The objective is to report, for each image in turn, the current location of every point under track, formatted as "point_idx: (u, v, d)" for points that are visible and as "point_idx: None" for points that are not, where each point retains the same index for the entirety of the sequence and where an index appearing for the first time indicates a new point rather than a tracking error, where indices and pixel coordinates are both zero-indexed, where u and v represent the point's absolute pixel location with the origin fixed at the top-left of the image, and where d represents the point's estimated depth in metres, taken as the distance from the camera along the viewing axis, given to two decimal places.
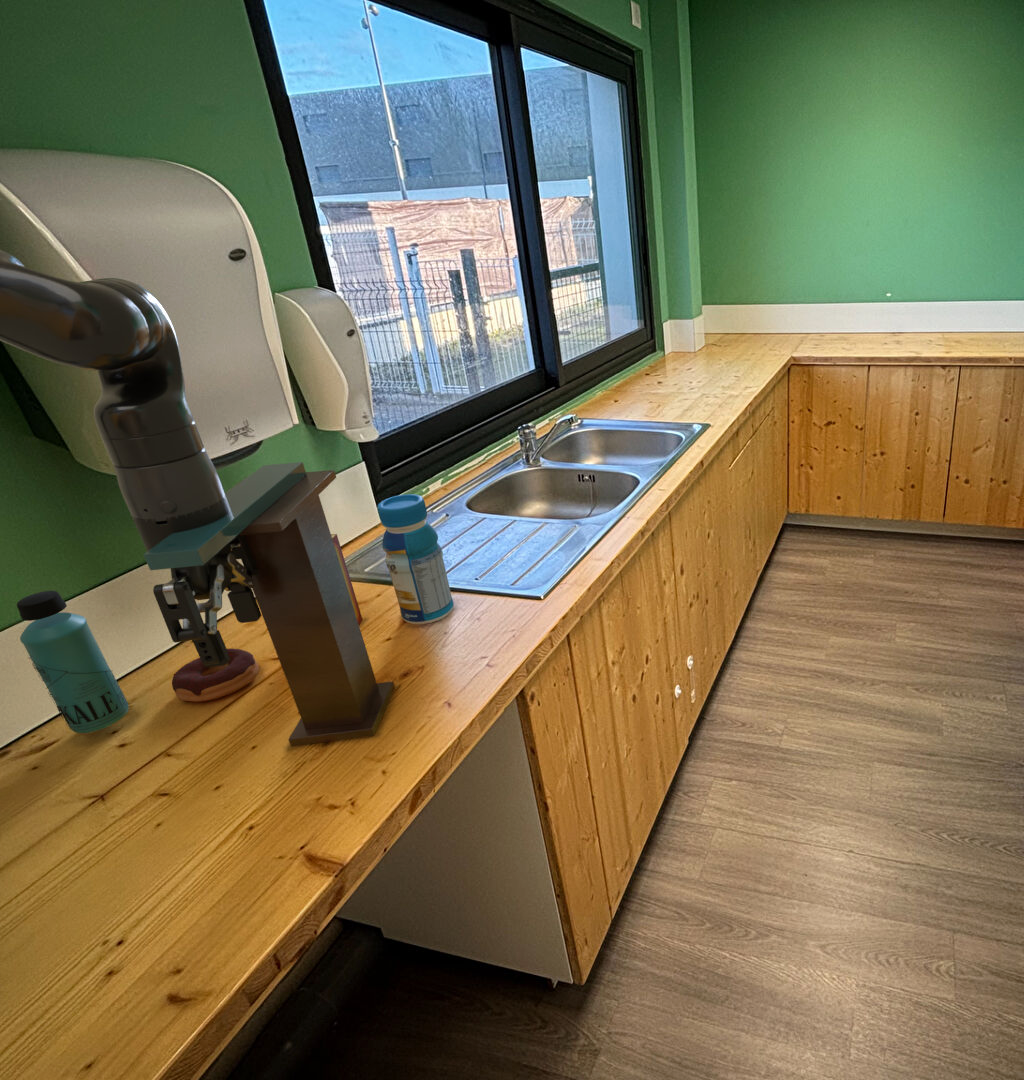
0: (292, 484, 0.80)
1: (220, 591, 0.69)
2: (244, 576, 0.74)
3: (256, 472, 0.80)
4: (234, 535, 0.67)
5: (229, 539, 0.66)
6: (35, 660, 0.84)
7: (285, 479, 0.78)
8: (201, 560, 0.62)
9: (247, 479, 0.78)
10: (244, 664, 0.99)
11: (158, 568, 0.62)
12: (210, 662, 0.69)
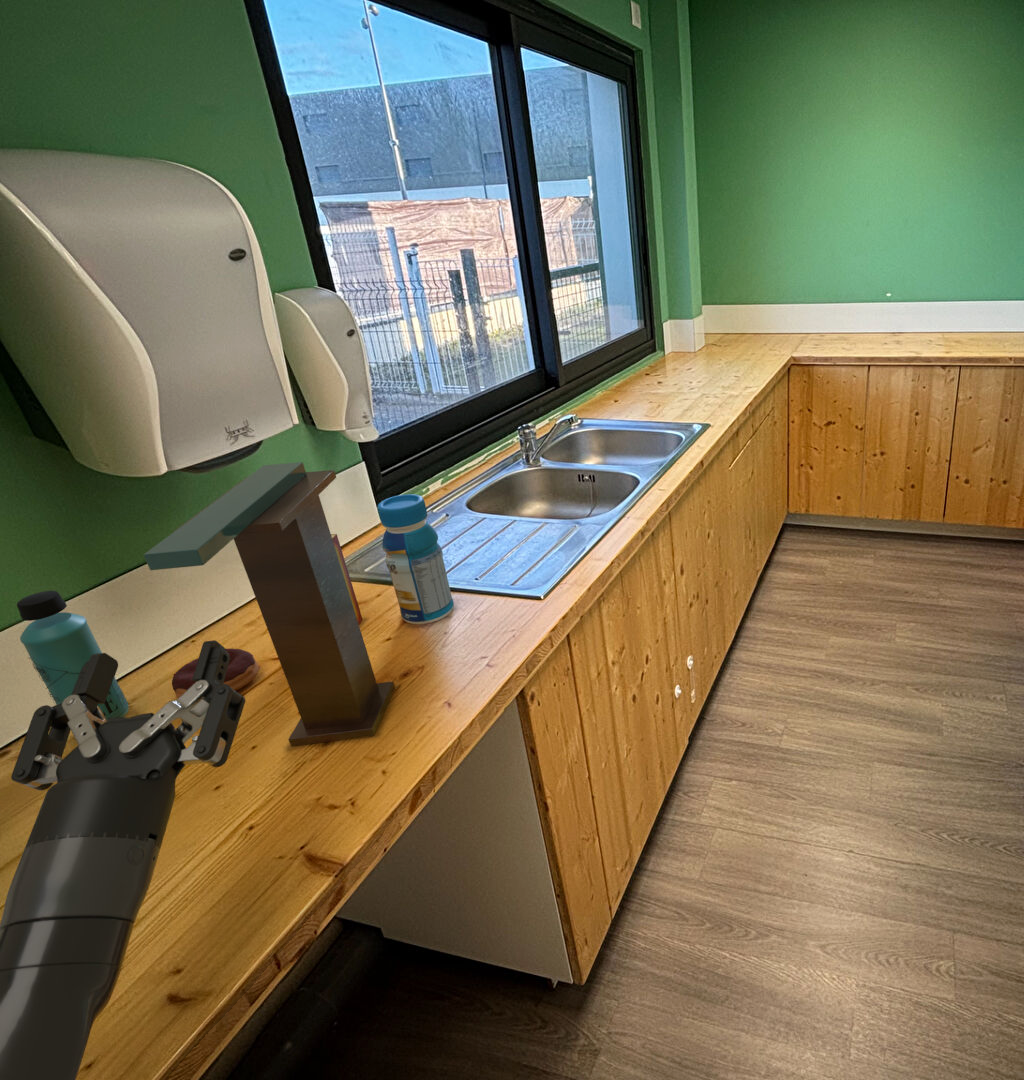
0: (292, 484, 0.80)
1: (152, 720, 0.54)
2: (83, 716, 0.54)
3: (256, 472, 0.80)
4: (234, 535, 0.67)
5: (229, 539, 0.66)
6: (35, 660, 0.84)
7: (285, 479, 0.78)
8: (201, 560, 0.62)
9: (247, 479, 0.78)
10: (244, 664, 0.99)
11: (158, 568, 0.62)
12: (225, 653, 0.59)
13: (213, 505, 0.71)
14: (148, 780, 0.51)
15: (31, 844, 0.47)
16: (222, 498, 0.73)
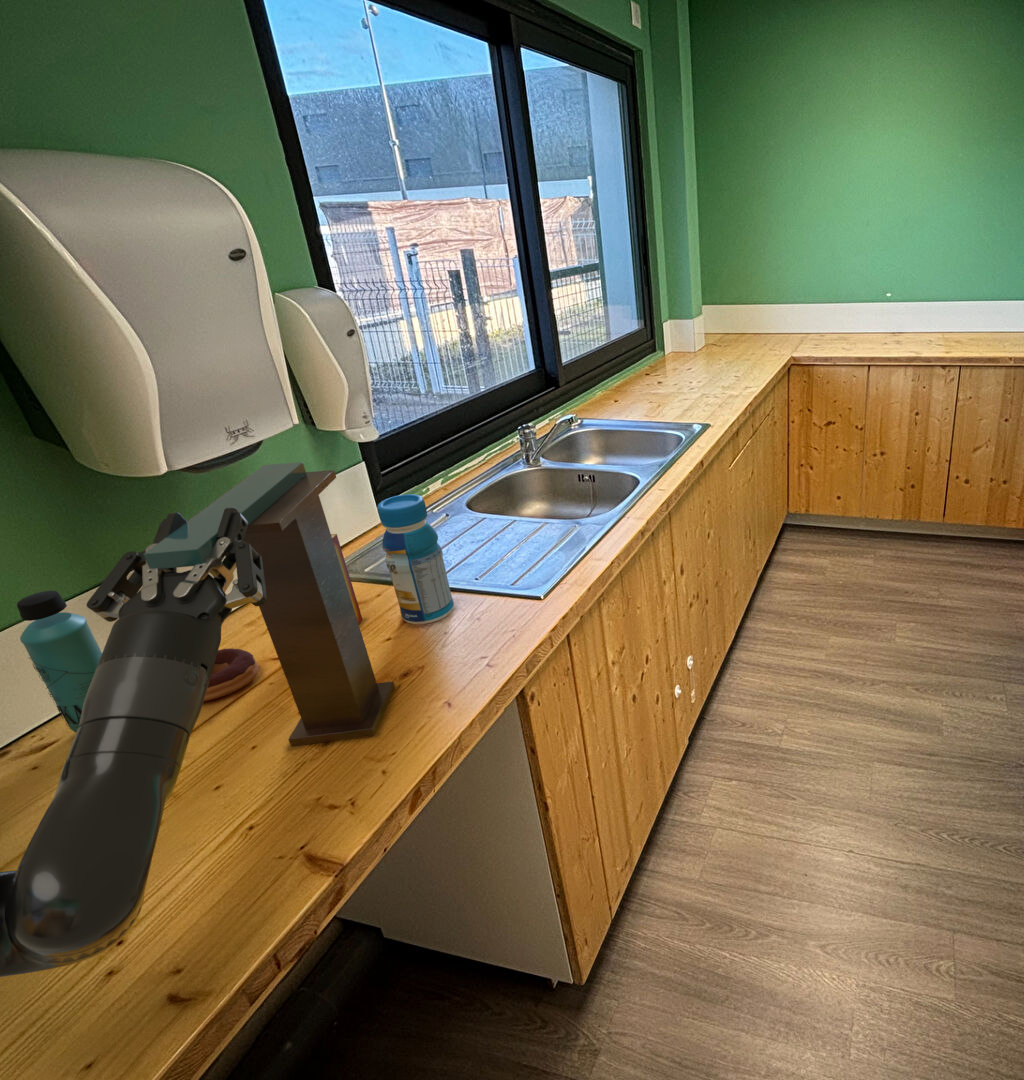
0: (292, 484, 0.80)
1: (200, 573, 0.61)
2: None
3: (256, 472, 0.80)
4: None
5: None
6: (35, 660, 0.84)
7: (285, 479, 0.78)
8: (201, 560, 0.62)
9: (247, 479, 0.78)
10: (244, 664, 0.99)
11: (158, 567, 0.62)
12: (244, 519, 0.67)
13: (213, 505, 0.71)
14: (199, 619, 0.59)
15: (103, 662, 0.55)
16: (222, 498, 0.73)
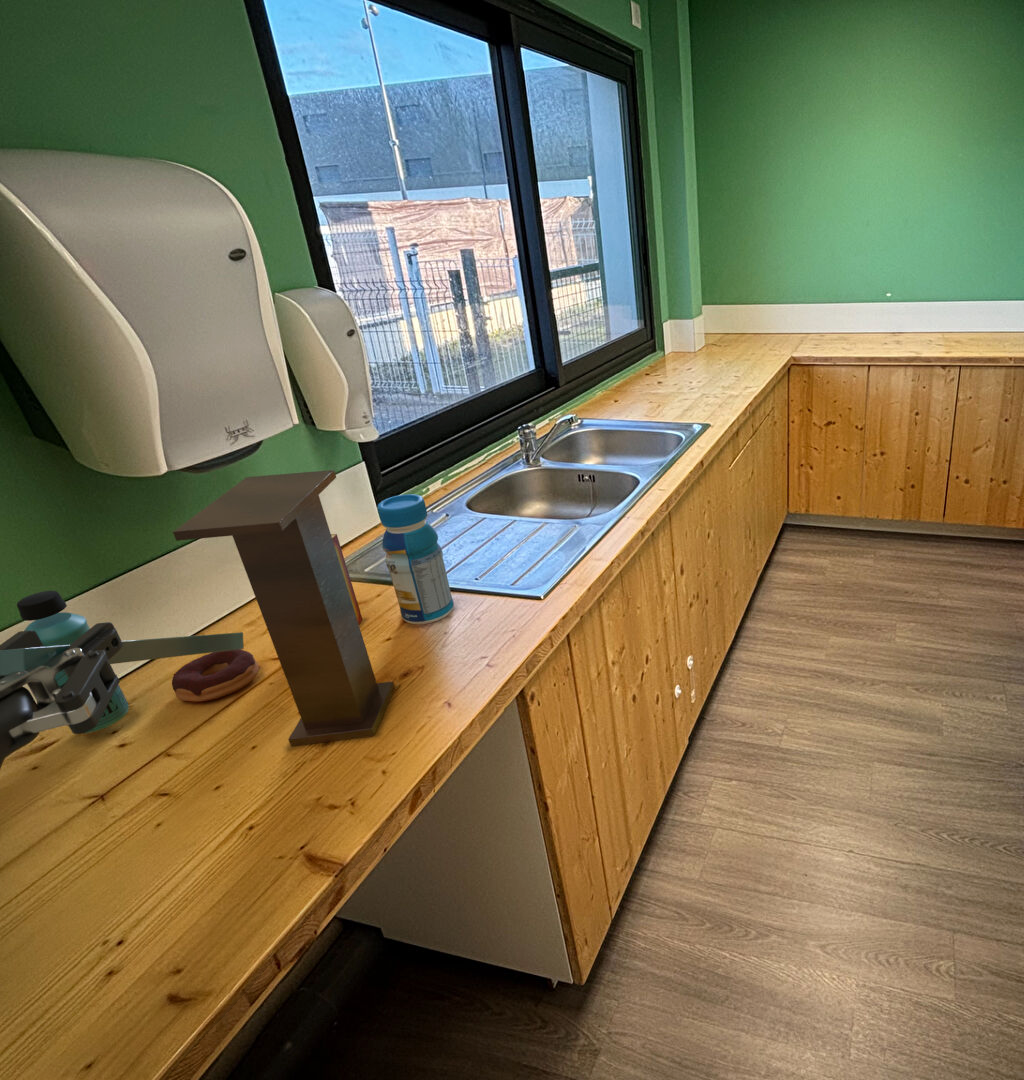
0: (218, 648, 0.63)
1: (13, 680, 0.42)
2: None
3: None
4: None
5: None
6: None
7: (209, 637, 0.62)
8: (24, 666, 0.43)
9: None
10: (244, 664, 0.99)
11: None
12: (118, 638, 0.50)
13: None
14: None
15: None
16: None
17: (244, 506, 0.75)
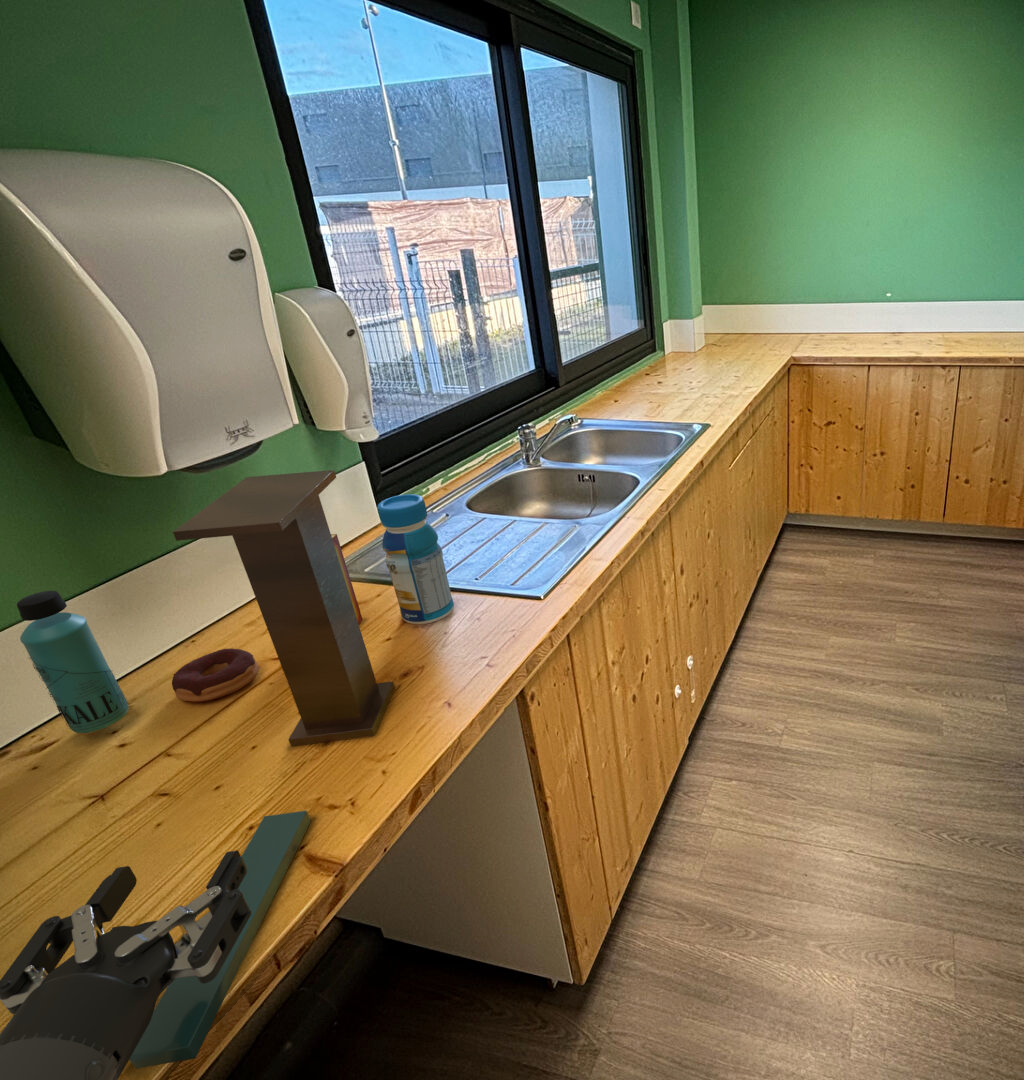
0: (295, 849, 0.73)
1: (156, 924, 0.52)
2: (89, 923, 0.52)
3: (256, 835, 0.73)
4: (231, 982, 0.60)
5: (225, 994, 0.59)
6: (35, 660, 0.84)
7: (287, 851, 0.71)
8: (193, 1054, 0.55)
9: (246, 854, 0.71)
10: (244, 664, 0.99)
11: (145, 1066, 0.55)
12: (244, 865, 0.59)
13: None
14: (133, 985, 0.48)
15: None
16: None
17: (244, 506, 0.75)
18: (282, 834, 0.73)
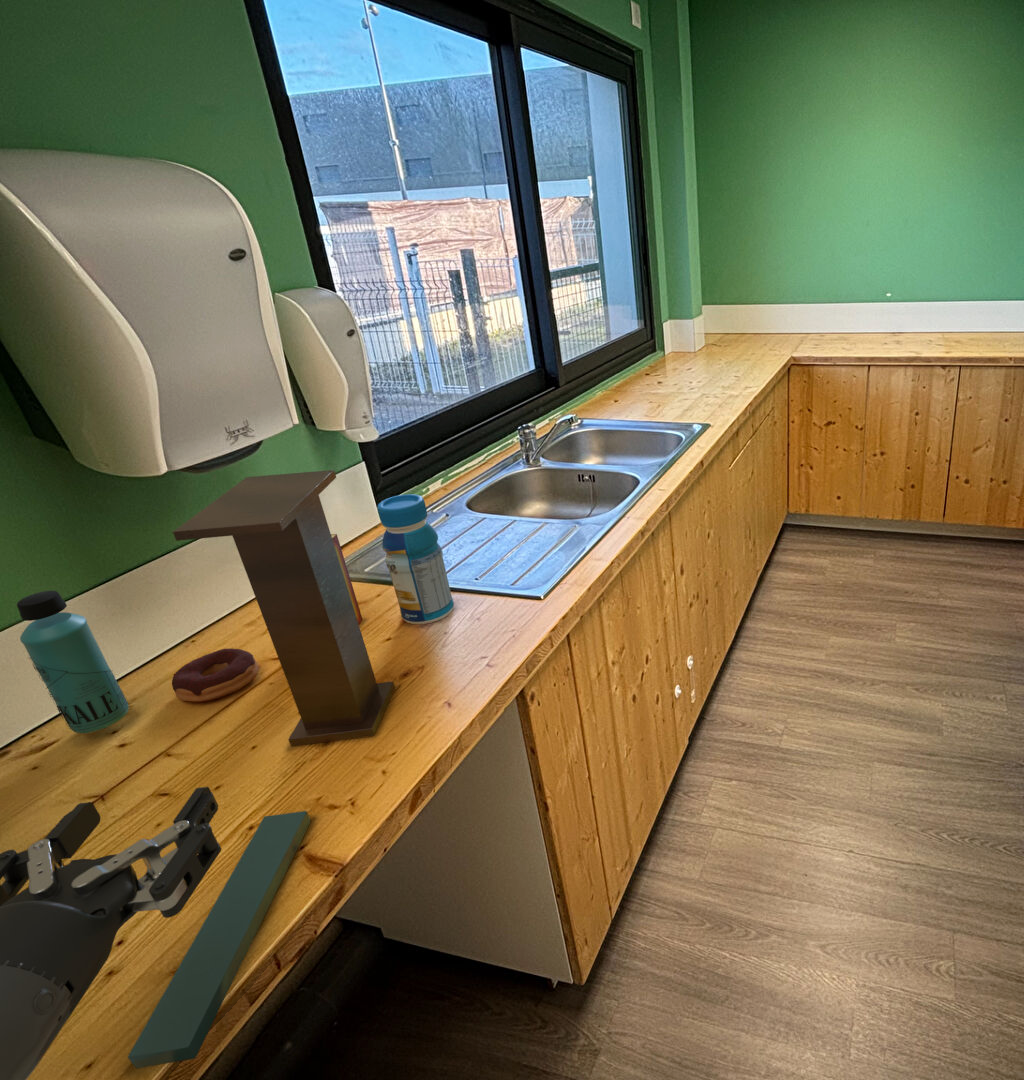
0: (295, 849, 0.73)
1: (117, 856, 0.49)
2: (46, 855, 0.49)
3: (256, 835, 0.73)
4: (231, 982, 0.60)
5: (225, 994, 0.59)
6: (35, 660, 0.84)
7: (287, 852, 0.71)
8: (193, 1054, 0.55)
9: (246, 854, 0.71)
10: (244, 664, 0.99)
11: (144, 1066, 0.55)
12: (215, 801, 0.56)
13: (208, 923, 0.64)
14: (90, 916, 0.45)
15: None
16: (218, 904, 0.66)
17: (244, 506, 0.75)
18: (282, 834, 0.73)
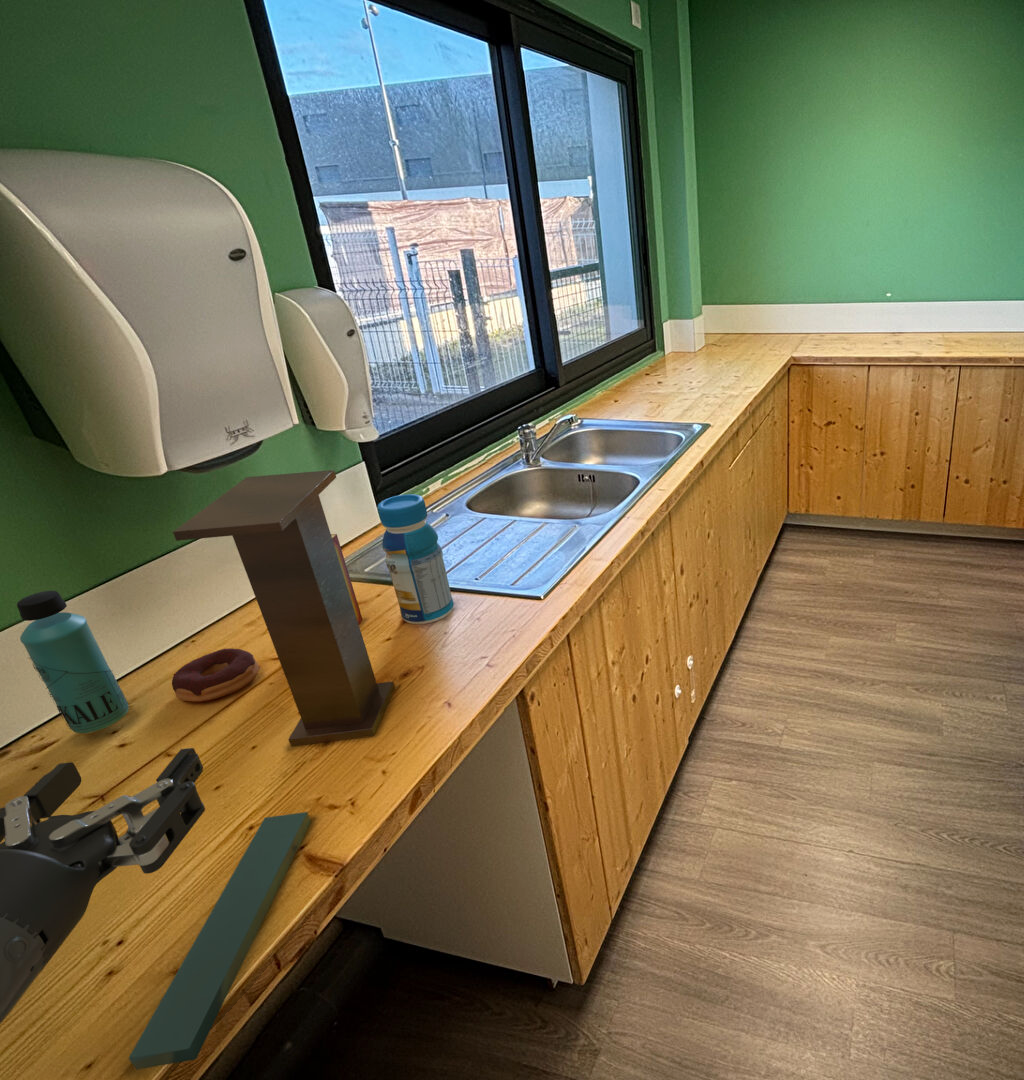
0: (296, 851, 0.73)
1: (97, 811, 0.48)
2: (24, 811, 0.48)
3: (256, 836, 0.73)
4: (231, 983, 0.60)
5: (225, 995, 0.59)
6: (35, 660, 0.84)
7: (288, 853, 0.71)
8: (194, 1055, 0.55)
9: (246, 855, 0.71)
10: (244, 664, 0.99)
11: (145, 1067, 0.55)
12: (200, 763, 0.54)
13: (209, 924, 0.64)
14: (67, 867, 0.44)
15: None
16: (219, 905, 0.66)
17: (244, 506, 0.75)
18: (283, 835, 0.73)
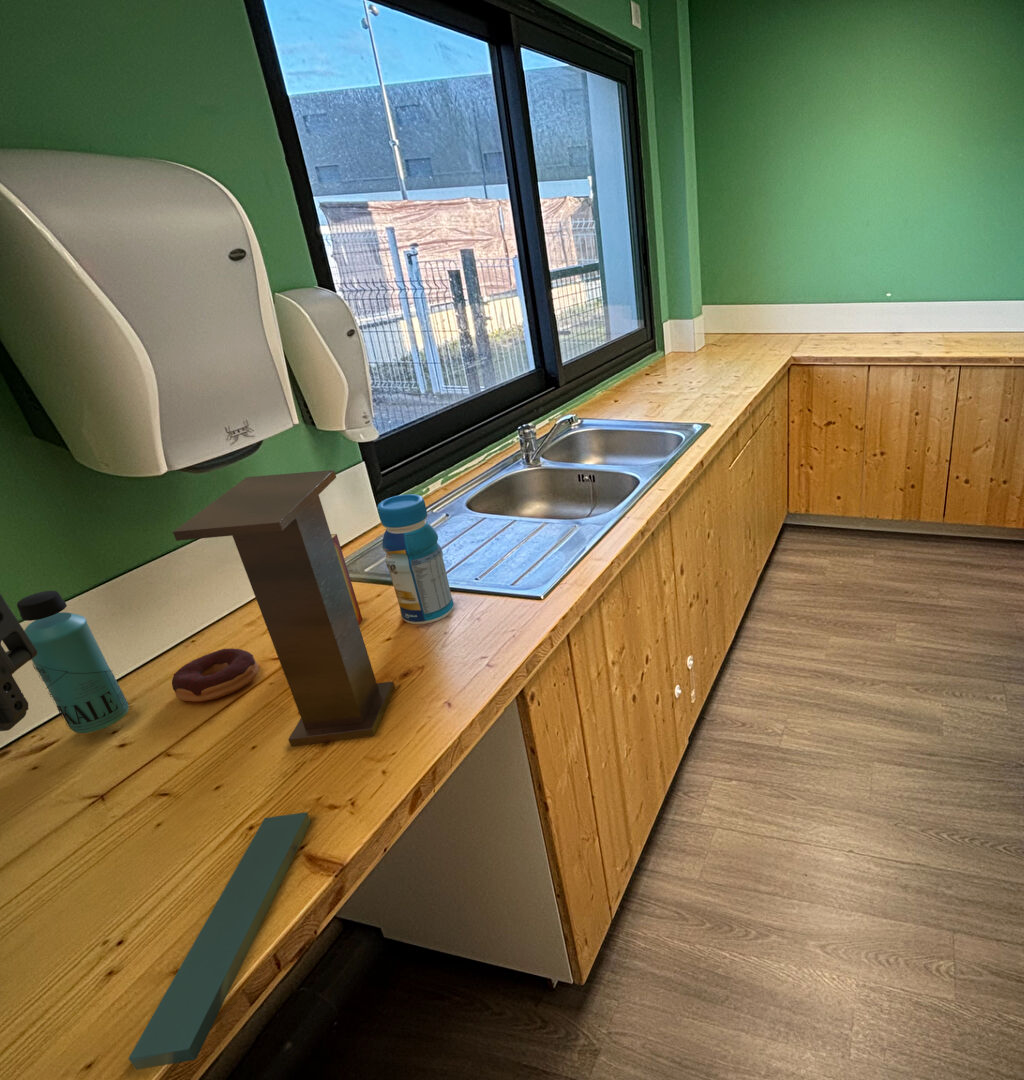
0: (296, 851, 0.73)
1: None
2: None
3: (256, 837, 0.73)
4: (231, 984, 0.60)
5: (225, 996, 0.59)
6: (35, 660, 0.84)
7: (288, 853, 0.71)
8: (193, 1056, 0.55)
9: (246, 855, 0.71)
10: (244, 664, 0.99)
11: (145, 1067, 0.55)
12: (20, 712, 0.49)
13: (209, 925, 0.64)
14: None
15: None
16: (218, 906, 0.66)
17: (244, 506, 0.75)
18: (283, 836, 0.73)
